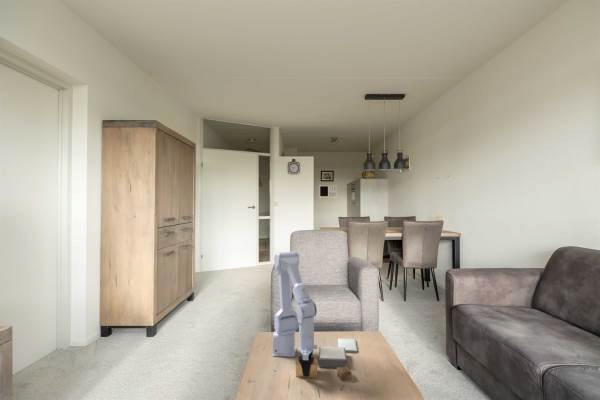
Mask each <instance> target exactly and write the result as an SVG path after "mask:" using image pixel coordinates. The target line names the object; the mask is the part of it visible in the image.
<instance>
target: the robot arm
mask: <svg viewBox="0 0 600 400" xmlns="http://www.w3.org/2000/svg"><path fill="white" fill-rule="evenodd" d="M273 259H274V260H273V261H274V271H276V272H277V273H278V290H279V291H278V292H279V306H280V309H278V311H277V312H276V313H274V319H273V320H274V321H273V327H274V331H273V337H272V357H291V358H293V357H295V356H296V353H297V347H296V346H295V345H296V343H295V341H296V340H295V339H296V338H295V336H296V335H295V333H297V330H298V336H299V337H298V338H299V339H298V343H299V345H298V349H299V351H300V353H301V355H298V360H299V362H300V364H301V367H302V372H303V376H308V377H307V378H310V377H309V374H310V368H311V364H312V362H313V360H314V359H315V357H312V356H313V353H314V350H317V349H318V344H315V317H316V315H317V313H318V311H317V305H316V303H315V301H314V300H313V298H311V296H310V294H309V290H308V288H307V286H306V284H304V283H303V282H302V278H301V274H300V273H301V272H300V269H299V265H300V255H299V253H298V252H297V250H296V251H295V250H294V251H283V252H278V251H277V252H276V254H275V255H274V258H273ZM290 280H291V281H290ZM291 283H292V285H293V288H292V289H291ZM291 290H292V293H293V297H294V300H295V303H296V308H295V310H294V309H293V308H292V295H291Z"/></svg>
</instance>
